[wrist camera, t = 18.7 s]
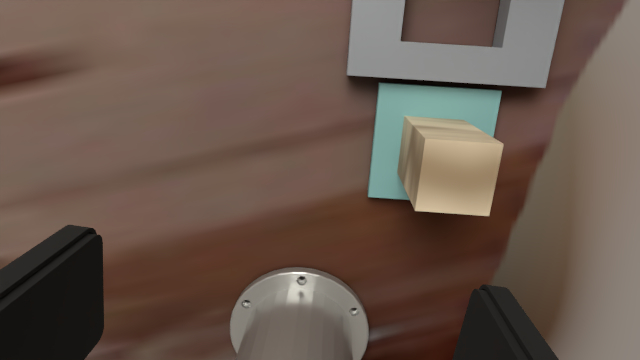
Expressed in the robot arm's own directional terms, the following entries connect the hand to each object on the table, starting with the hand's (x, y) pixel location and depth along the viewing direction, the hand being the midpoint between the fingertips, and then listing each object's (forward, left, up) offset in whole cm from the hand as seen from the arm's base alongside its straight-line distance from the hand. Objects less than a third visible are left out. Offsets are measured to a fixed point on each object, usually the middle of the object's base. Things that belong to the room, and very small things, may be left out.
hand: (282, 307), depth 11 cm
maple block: (-1, -9, -23) cm, 25 cm away
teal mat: (-1, -9, -24) cm, 26 cm away
